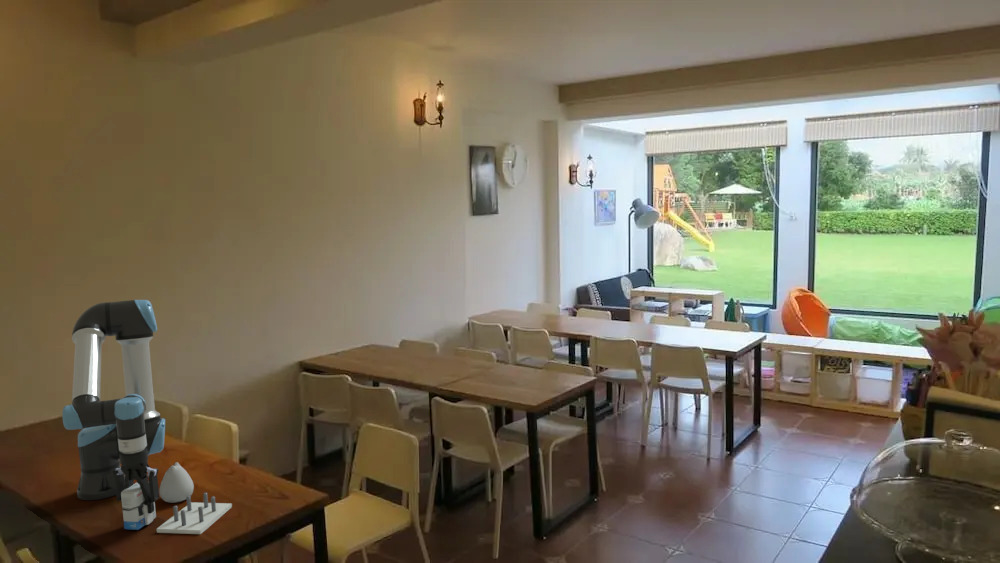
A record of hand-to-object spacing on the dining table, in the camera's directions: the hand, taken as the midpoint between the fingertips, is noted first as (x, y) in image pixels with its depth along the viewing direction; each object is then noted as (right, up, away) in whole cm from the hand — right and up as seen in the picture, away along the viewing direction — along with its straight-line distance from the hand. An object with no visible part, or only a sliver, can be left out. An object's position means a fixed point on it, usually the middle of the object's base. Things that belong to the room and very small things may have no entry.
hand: (140, 522), depth 212 cm
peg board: (+16, 0, +3) cm, 16 cm away
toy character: (+3, +1, +18) cm, 19 cm away
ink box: (0, -1, 0) cm, 1 cm away
